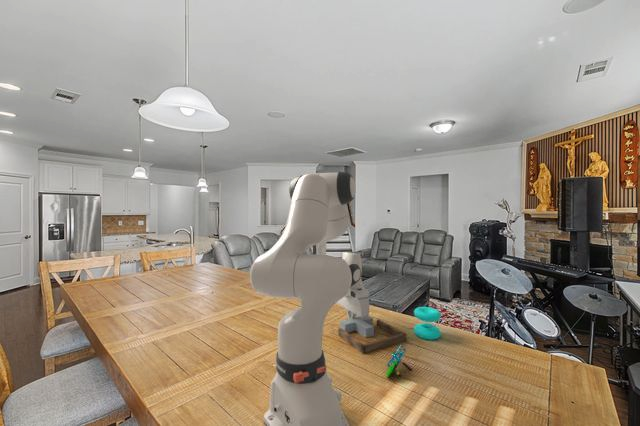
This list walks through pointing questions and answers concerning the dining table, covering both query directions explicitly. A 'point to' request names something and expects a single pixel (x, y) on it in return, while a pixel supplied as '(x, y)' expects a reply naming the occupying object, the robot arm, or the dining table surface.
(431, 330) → the donuts
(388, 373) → the stick construction toy
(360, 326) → the T-block
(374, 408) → the dining table surface
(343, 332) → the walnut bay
